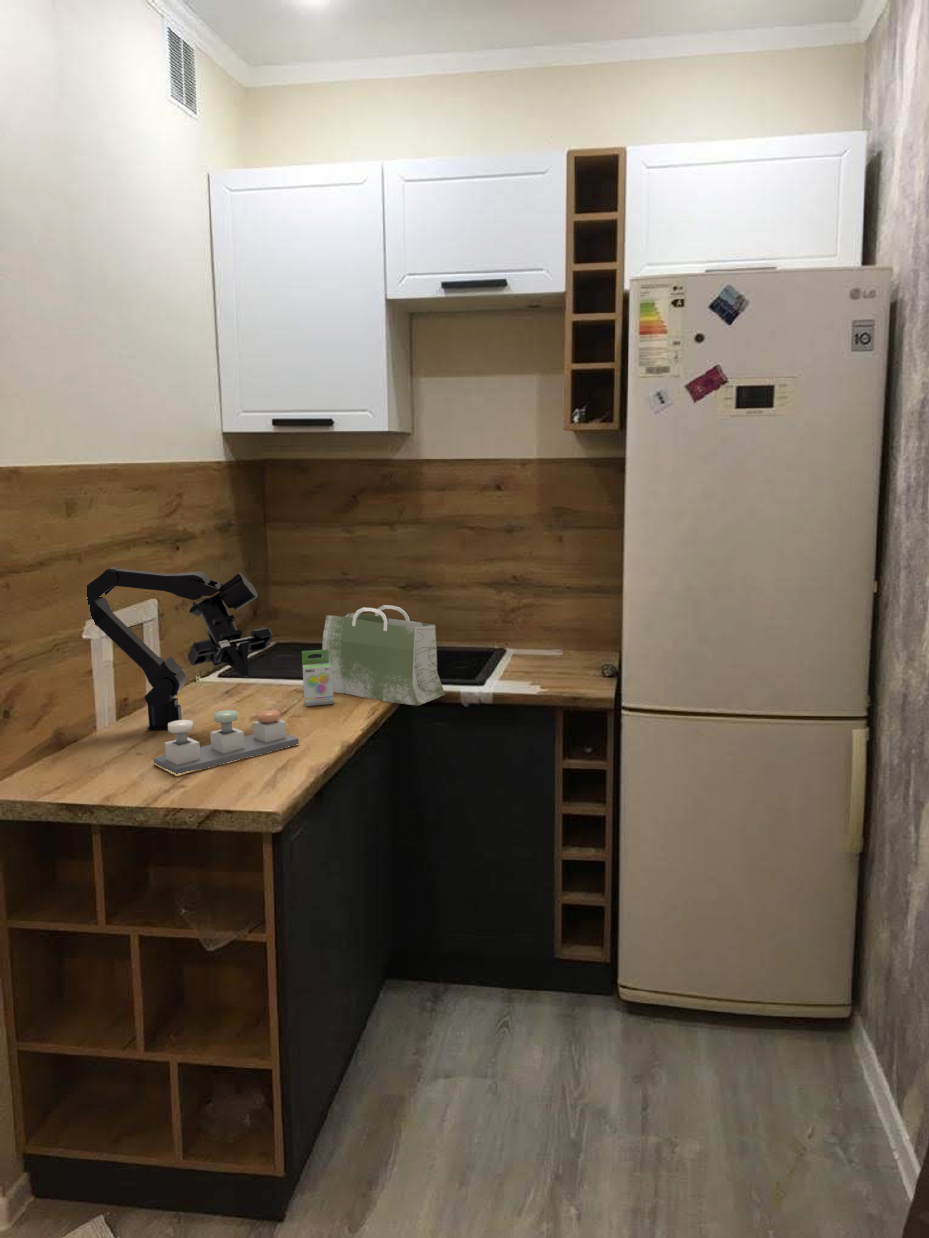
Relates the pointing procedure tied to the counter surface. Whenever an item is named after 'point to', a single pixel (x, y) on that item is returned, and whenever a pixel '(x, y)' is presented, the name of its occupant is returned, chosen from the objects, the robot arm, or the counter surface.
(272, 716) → the terracotta button
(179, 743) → the cream button
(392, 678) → the grocery bag
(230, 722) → the sage button
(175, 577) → the robot arm
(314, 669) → the ink box
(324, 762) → the counter surface
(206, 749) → the console
